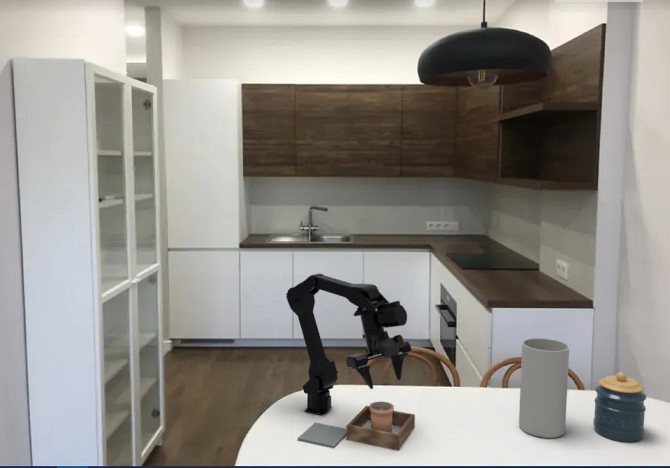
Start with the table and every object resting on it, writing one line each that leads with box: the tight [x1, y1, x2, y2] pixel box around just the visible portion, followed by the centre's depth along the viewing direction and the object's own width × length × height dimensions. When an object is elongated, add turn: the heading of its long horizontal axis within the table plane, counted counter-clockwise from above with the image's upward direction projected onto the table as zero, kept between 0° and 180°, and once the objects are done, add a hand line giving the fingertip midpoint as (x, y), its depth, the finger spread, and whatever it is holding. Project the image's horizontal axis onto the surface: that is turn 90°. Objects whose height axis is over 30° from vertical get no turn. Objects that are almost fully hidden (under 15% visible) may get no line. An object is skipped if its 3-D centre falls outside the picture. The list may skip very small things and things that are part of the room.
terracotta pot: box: [369, 401, 395, 433], centre depth 161 cm, size 7×7×8 cm
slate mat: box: [297, 422, 347, 449], centre depth 160 cm, size 11×11×1 cm
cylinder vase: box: [518, 337, 570, 439], centre depth 164 cm, size 12×12×25 cm
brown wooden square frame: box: [345, 405, 416, 451], centre depth 161 cm, size 15×15×4 cm
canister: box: [593, 371, 647, 443], centre depth 162 cm, size 13×13×18 cm
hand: (385, 384), depth 161 cm, fingers open, 9 cm apart
